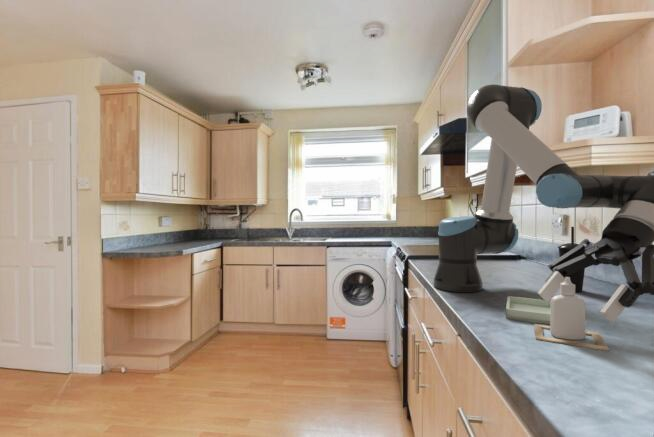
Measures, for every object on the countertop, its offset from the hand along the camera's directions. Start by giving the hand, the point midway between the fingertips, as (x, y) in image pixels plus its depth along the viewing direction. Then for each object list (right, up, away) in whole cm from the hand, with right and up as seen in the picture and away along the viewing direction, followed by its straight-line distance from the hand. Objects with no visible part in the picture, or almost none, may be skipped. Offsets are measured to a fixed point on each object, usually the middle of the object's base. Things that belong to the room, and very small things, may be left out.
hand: (571, 306), depth 63 cm
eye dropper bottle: (0, -7, +1) cm, 7 cm away
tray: (+2, -6, +15) cm, 16 cm away
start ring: (0, -6, +1) cm, 6 cm away
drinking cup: (+29, -5, +37) cm, 47 cm away
